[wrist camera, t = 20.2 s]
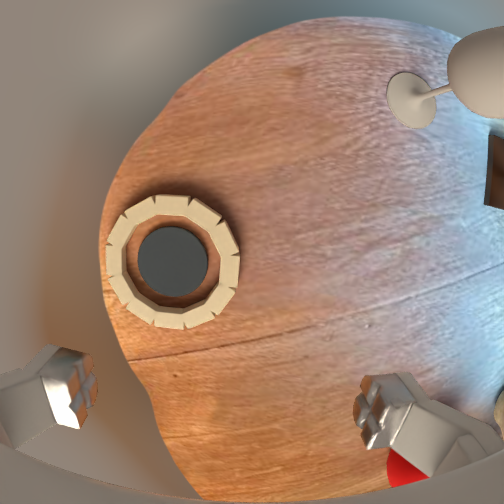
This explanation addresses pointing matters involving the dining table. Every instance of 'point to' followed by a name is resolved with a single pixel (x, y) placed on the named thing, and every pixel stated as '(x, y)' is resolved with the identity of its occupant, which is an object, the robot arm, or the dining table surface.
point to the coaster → (172, 261)
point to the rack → (495, 173)
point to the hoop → (201, 217)
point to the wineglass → (456, 82)
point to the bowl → (500, 412)
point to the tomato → (402, 470)
